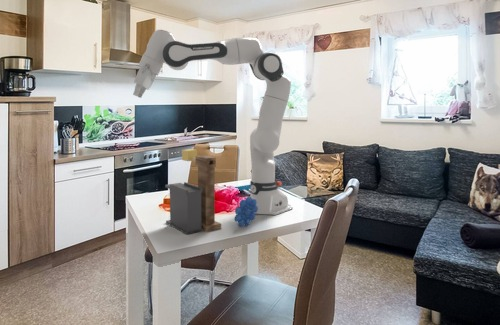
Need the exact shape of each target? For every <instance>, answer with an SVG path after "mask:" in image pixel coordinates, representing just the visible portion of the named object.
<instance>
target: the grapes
mask: <svg viewBox="0 0 500 325" xmlns="http://www.w3.org/2000/svg"><path fill="white" fill-rule="evenodd" d="M256 203H257V201H256V200H255V199H252V198H251V197H250V196H247V197H246V198H245V199H241V200H240V201H239V205H238V206H236V208H235V210H234V213H235V214H236V215H235V216H234V221H235V222H236V223H237V225H238V226H239V227H243V226H246V227H247V226H249V225H250V224H251V221H253V220H255V218H256V214H255V212H257V210H258V206H256Z"/></svg>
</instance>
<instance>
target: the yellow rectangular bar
mask: <svg viewBox="0 0 500 325" xmlns="http://www.w3.org/2000/svg"><path fill="white" fill-rule="evenodd" d="M195 156H198V150H197V149H193V148H188V149H182V150H181V160H182V161H185V162H195ZM195 163H196V162H195ZM209 163H210V161H209Z"/></svg>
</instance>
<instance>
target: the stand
mask: <svg viewBox="0 0 500 325" xmlns="http://www.w3.org/2000/svg"><path fill="white" fill-rule="evenodd" d="M209 161H210V163H209ZM216 161H217V158H216V157H213V156H210V155H197V156H195V166H197V186H198V187H201V188H202V193H201V228H202V229H203V231H202V232H205V233H208V232H213V231H217V230H221V229H222V223H221V222H218V221H217V220H215V218H216V217H215V216H216V214H215V213H216V211H215V210H216V209H215V206H216V205H215V204H216V203H215V201H216V200H215V199H216V198H215V195H216V193H215V188H216V187H215V186H216V185H215V182H216V181H215V180H216V179H215V177H216V176H215V175H216V174H215V173H216V172H215V168H216V167H217V162H216Z"/></svg>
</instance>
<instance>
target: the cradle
mask: <svg viewBox="0 0 500 325" xmlns="http://www.w3.org/2000/svg"><path fill="white" fill-rule="evenodd" d="M164 186H165V188H166V189H169V213H170V214H169V215H170V216H169V217H170V219H168V220H165V223H166V225H169V226H171V227H172V228H174V229H176V230H178V231H179V232H181V233H183V234H185V235H190V234H196V233H199V232H204V231H203V229H202V228H201V193H202V188H201V187H198V185H196V184H193V183H189V182H183V183H182V182H176V183H169V184H165V185H164Z"/></svg>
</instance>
